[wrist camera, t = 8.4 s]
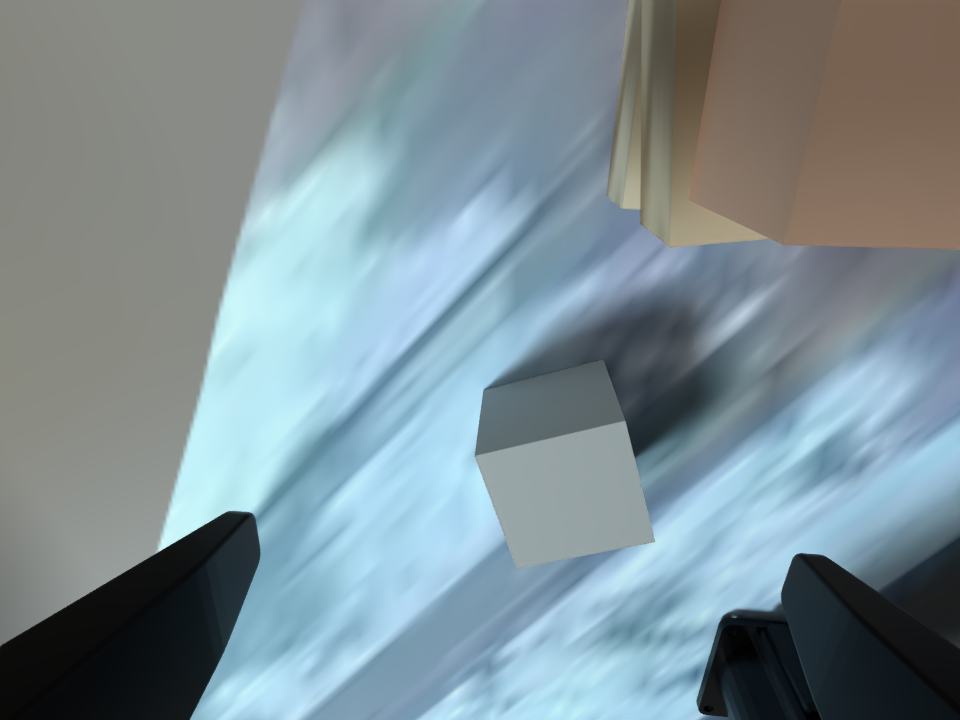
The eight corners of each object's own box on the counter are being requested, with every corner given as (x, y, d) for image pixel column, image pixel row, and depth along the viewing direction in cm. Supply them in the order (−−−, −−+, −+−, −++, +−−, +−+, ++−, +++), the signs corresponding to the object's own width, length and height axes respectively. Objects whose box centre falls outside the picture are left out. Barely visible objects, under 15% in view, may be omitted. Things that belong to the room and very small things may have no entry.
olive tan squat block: (806, 202, 19) (864, 217, 16) (605, 195, 19) (622, 208, 16) (868, -39, 16) (954, -79, 13) (632, -42, 17) (659, -83, 13)
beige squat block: (888, 199, 16) (984, 218, 12) (640, 224, 16) (670, 247, 13) (942, -103, 13) (1082, -178, 10) (642, -59, 14) (680, -115, 10)
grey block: (628, 460, 24) (655, 541, 19) (517, 485, 24) (516, 568, 20) (602, 358, 22) (625, 420, 17) (483, 389, 23) (474, 456, 18)
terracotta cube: (997, -64, 10) (1371, -208, 6) (911, 205, 12) (1139, 254, 8) (731, -64, 11) (889, -200, 6) (688, 200, 13) (783, 244, 8)
